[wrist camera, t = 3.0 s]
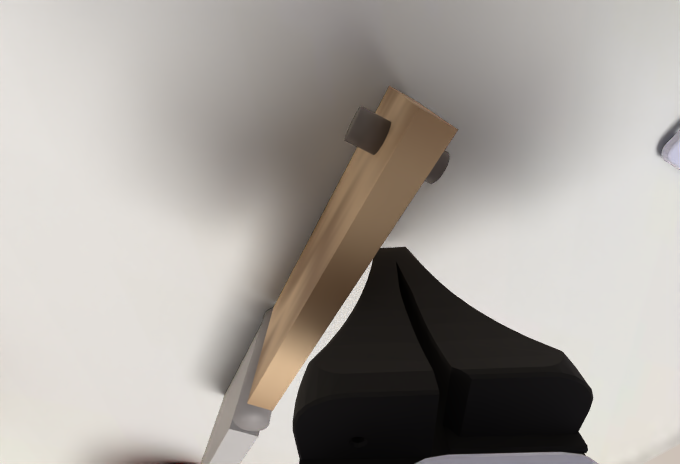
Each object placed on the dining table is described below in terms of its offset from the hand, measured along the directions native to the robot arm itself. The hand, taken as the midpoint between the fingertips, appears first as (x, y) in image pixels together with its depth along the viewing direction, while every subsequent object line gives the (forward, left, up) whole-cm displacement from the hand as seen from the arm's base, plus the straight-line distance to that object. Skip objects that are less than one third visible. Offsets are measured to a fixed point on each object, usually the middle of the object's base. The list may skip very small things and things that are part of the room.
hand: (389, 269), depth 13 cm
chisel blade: (+10, -3, -2) cm, 11 cm away
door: (0, -3, -2) cm, 3 cm away
